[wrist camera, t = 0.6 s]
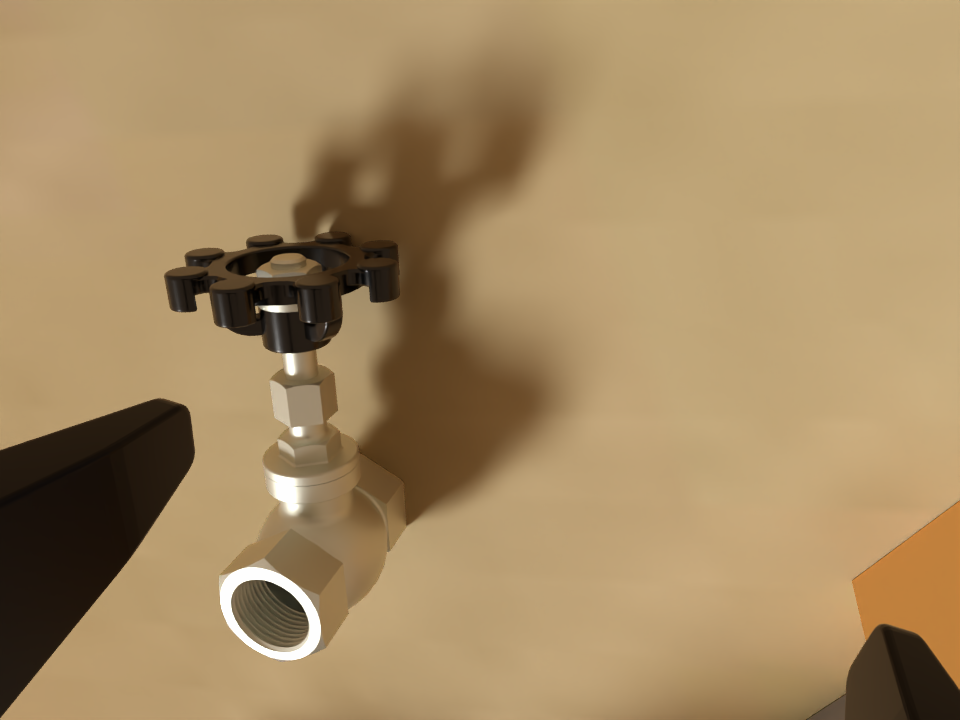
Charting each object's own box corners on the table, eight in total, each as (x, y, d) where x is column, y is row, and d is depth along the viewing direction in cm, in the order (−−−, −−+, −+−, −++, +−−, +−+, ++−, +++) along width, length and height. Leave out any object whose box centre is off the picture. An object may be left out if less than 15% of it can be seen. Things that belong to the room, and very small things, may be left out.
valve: (451, 557, 28) (437, 235, 23) (378, 692, 22) (341, 299, 18) (292, 530, 30) (250, 226, 25) (186, 648, 24) (107, 282, 19)
